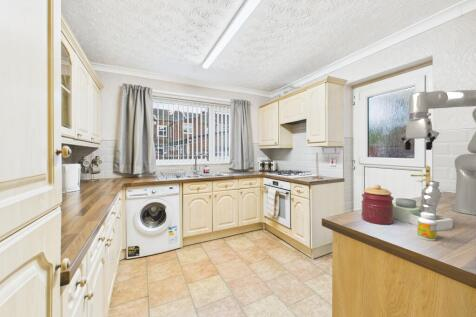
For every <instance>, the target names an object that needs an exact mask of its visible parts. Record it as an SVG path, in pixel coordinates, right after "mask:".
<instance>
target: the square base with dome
mask: <svg viewBox="0 0 476 317" xmlns="http://www.w3.org/2000/svg"><path fill="white" fill-rule="evenodd" d="M392 204H393V205H394V206H393V219H396V220H398V221H400V222H401V221H402V222H404V223H407V224H412V225H414V226H417V227H418V219H419V218H421V217H419V216H417V214H418V212H419V209H420V206H421V205H420V206H419V205H417V201H416V200H414V199H411V198H406V197H405V198H403V197H398V198H395V202H392ZM453 221H454V219H452V218H448V217H445V216H442V215H437V214H436V222H437V228H436V232H437V231H443V230H449V229H450V230H451V229H453V224H454V222H453Z"/></svg>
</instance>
